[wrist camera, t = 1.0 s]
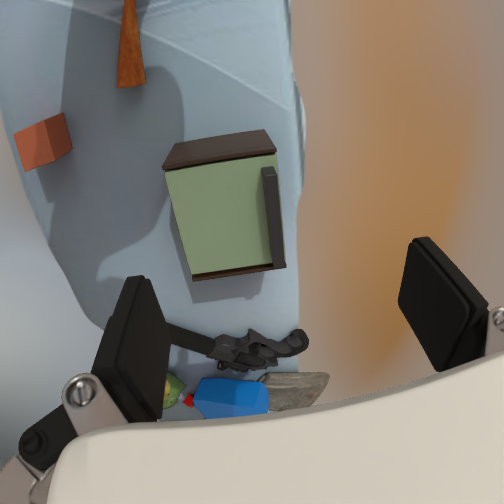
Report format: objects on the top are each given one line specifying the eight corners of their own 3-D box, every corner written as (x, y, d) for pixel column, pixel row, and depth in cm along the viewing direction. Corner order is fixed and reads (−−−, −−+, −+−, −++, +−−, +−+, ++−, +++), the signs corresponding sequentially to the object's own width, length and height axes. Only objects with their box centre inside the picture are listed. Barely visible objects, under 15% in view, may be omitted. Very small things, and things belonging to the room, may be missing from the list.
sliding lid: (164, 170, 29) (159, 181, 26) (275, 152, 29) (280, 162, 26) (191, 271, 35) (189, 288, 33) (284, 257, 35) (289, 274, 33)
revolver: (314, 329, 55) (269, 374, 61) (184, 281, 46) (152, 339, 52) (318, 341, 52) (271, 386, 58) (182, 294, 43) (150, 353, 50)
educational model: (99, 358, 56) (151, 378, 67) (93, 396, 51) (146, 411, 62) (142, 357, 50) (195, 377, 61) (135, 401, 46) (192, 415, 56)
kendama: (94, 92, 27) (97, -70, 14) (120, 83, 31) (122, -59, 19) (144, 87, 26) (149, -85, 14) (165, 79, 31) (169, -70, 19)
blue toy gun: (223, 450, 71) (231, 432, 75) (295, 461, 62) (301, 440, 67) (165, 394, 58) (177, 371, 62) (253, 407, 49) (263, 378, 54)
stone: (307, 402, 70) (337, 365, 62) (310, 413, 67) (341, 378, 59) (237, 398, 65) (259, 359, 58) (238, 410, 62) (261, 373, 55)
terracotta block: (33, 124, 30) (13, 134, 26) (63, 112, 30) (44, 120, 26) (43, 158, 33) (24, 172, 29) (72, 148, 33) (55, 160, 29)
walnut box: (174, 143, 35) (161, 166, 27) (264, 129, 35) (276, 147, 28) (196, 240, 42) (192, 281, 35) (274, 228, 42) (286, 267, 35)
